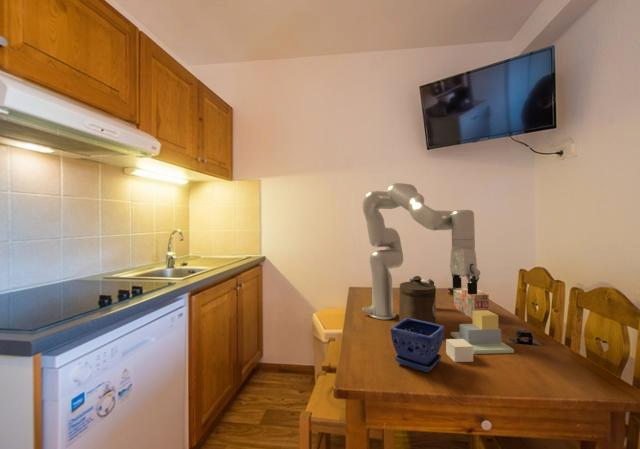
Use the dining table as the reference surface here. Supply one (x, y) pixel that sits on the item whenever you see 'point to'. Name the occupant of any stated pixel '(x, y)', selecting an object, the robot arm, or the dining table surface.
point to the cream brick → (459, 350)
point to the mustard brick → (485, 320)
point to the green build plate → (487, 346)
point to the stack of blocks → (470, 301)
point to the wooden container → (417, 301)
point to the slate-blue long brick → (479, 334)
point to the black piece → (524, 341)
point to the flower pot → (417, 343)
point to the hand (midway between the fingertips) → (464, 290)
